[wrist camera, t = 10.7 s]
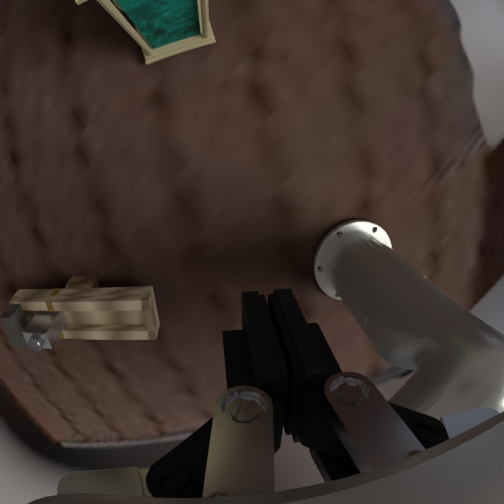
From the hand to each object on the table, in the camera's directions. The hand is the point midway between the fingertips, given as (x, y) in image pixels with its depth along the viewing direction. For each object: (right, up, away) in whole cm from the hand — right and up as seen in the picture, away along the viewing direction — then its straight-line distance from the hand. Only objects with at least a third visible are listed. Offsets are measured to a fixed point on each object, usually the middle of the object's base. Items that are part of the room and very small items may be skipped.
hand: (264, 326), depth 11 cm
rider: (-28, -6, +25) cm, 38 cm away
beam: (-24, -4, +30) cm, 39 cm away
